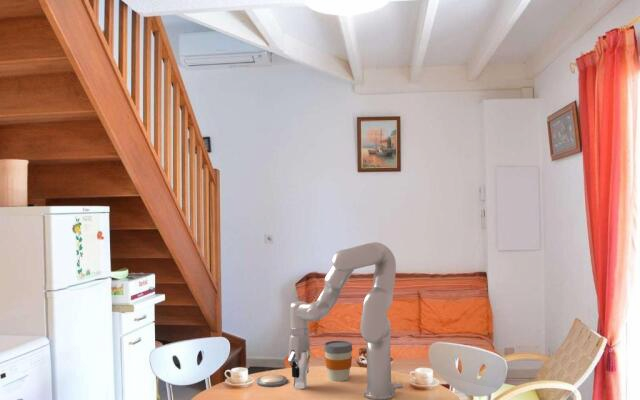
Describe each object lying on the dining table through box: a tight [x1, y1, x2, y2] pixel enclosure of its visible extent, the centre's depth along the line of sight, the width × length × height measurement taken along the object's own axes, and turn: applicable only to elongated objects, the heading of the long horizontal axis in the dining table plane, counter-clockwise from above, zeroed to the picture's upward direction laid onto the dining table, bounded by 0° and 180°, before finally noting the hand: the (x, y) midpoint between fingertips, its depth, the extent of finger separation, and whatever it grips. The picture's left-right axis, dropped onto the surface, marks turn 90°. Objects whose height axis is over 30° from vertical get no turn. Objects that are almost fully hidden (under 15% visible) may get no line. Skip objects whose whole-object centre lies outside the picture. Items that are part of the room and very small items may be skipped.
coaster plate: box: [256, 374, 288, 388], centre depth 215 cm, size 13×13×2 cm
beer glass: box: [292, 350, 309, 390], centre depth 208 cm, size 7×7×15 cm
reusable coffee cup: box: [323, 340, 353, 382], centre depth 219 cm, size 13×13×15 cm
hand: (300, 374), depth 208 cm, fingers closed on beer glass, 6 cm apart
